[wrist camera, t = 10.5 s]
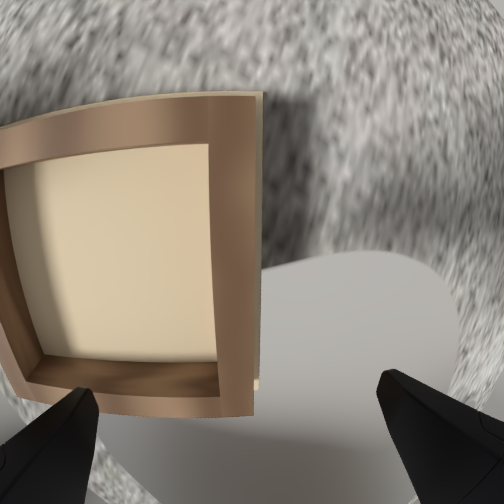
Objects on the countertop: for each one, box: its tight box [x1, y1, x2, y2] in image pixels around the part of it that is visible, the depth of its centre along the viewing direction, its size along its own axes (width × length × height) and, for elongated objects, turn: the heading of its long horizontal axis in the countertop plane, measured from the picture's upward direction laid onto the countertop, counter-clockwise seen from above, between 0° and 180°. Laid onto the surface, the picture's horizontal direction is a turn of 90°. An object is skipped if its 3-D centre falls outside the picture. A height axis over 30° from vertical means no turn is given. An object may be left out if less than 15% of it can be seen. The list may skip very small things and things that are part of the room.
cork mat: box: [0, 91, 263, 390], centre depth 17 cm, size 20×20×1 cm
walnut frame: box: [0, 96, 256, 418], centre depth 15 cm, size 18×18×4 cm
